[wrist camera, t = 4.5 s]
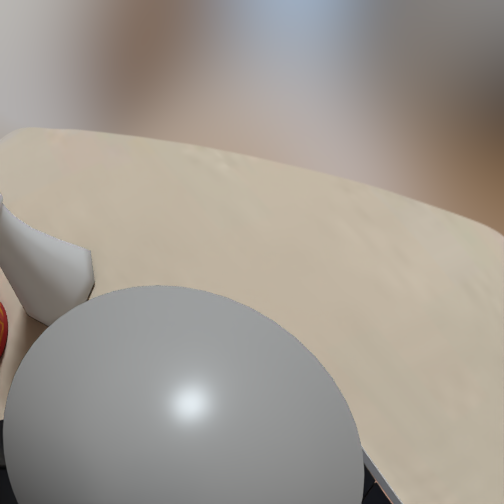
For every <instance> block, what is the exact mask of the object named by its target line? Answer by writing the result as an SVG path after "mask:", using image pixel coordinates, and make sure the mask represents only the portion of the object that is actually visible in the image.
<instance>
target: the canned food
mask: <svg viewBox="0 0 504 504" xmlns="http://www.w3.org/2000/svg"><path fill="white" fill-rule="evenodd" d="M7 333H8V322H7V315H6V311H5V309H4V307H3V305H2V303H1V302H0V357H1V355H2V353H3V350H4V348H5V344H6V340H7Z"/></svg>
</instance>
